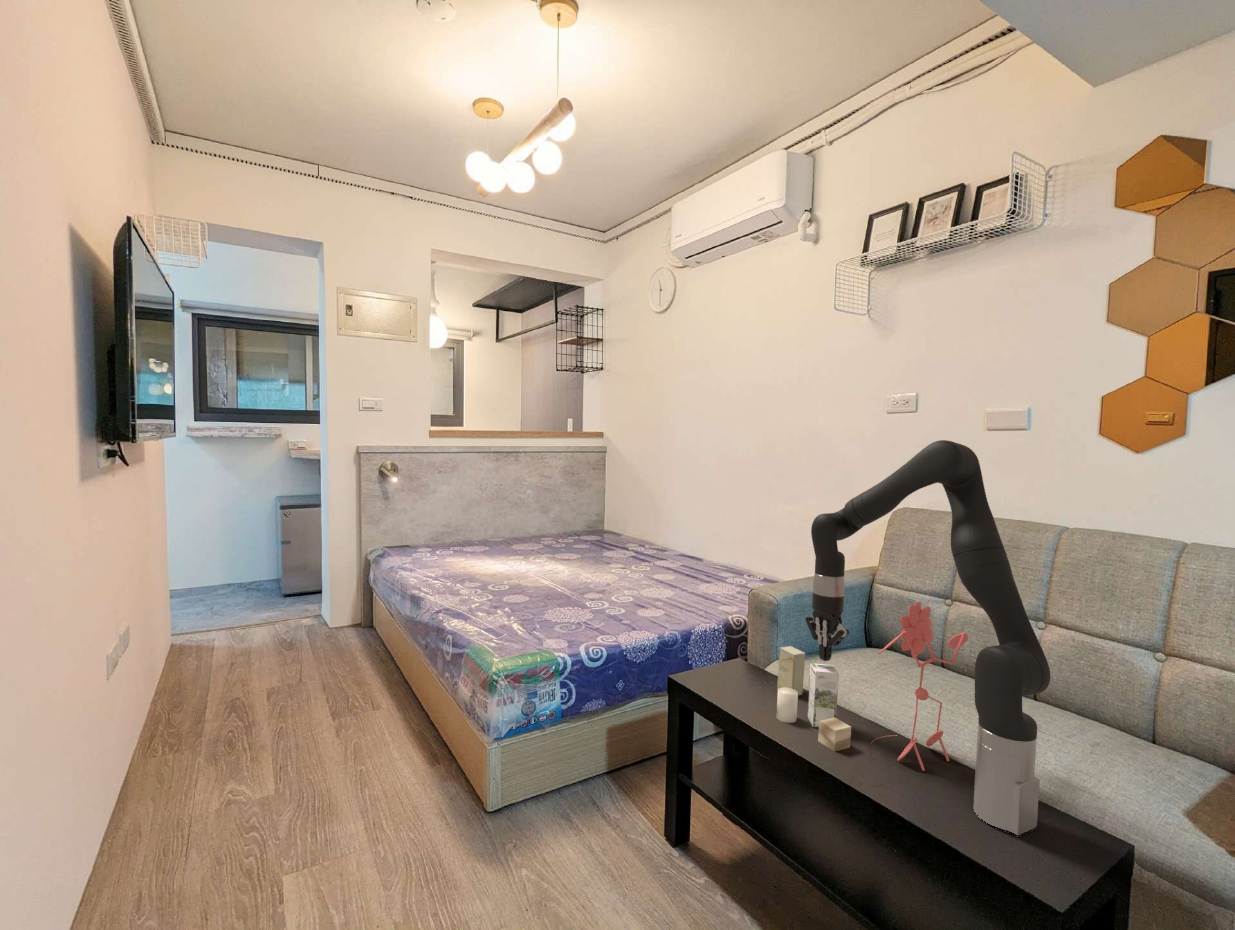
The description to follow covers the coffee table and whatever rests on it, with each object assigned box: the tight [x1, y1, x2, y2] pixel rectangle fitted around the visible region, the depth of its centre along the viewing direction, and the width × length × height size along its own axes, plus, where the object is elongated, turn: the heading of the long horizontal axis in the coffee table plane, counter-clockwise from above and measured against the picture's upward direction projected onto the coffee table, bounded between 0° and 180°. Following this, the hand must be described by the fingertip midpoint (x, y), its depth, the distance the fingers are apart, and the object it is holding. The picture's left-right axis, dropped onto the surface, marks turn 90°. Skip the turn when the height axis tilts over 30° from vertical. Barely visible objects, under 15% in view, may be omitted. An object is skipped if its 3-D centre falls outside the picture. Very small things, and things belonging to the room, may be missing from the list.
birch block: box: [817, 717, 852, 752], centre depth 136 cm, size 5×5×5 cm
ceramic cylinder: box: [776, 687, 799, 724], centre depth 148 cm, size 5×5×7 cm
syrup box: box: [806, 662, 840, 729], centre depth 146 cm, size 6×6×14 cm
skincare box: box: [776, 645, 806, 696], centre depth 165 cm, size 6×4×12 cm
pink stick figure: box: [869, 601, 969, 772], centre depth 134 cm, size 15×26×35 cm, turn 119°
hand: (824, 659), depth 146 cm, fingers closed
